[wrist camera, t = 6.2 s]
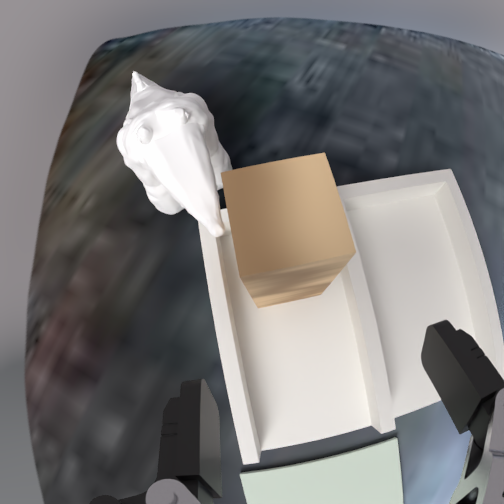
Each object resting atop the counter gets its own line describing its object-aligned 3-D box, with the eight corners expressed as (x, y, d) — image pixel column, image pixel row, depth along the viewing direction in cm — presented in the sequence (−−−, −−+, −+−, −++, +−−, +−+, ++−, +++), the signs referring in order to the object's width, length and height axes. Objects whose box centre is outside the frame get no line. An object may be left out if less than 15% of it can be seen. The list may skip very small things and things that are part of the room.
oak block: (306, 235, 24) (324, 152, 13) (320, 294, 23) (356, 252, 12) (245, 247, 24) (220, 172, 13) (258, 308, 23) (239, 277, 12)
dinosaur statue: (202, 302, 23) (132, 243, 13) (120, 113, 32) (77, 40, 22) (285, 256, 24) (276, 165, 13) (174, 84, 33) (142, 6, 22)
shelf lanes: (434, 187, 25) (450, 168, 22) (484, 376, 20) (508, 378, 17) (207, 231, 26) (197, 214, 22) (248, 448, 21) (243, 464, 17)
